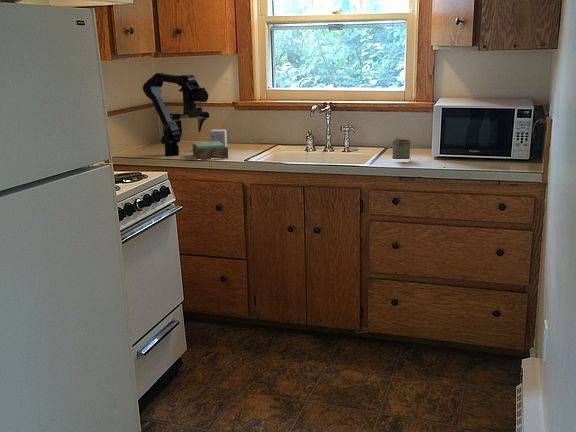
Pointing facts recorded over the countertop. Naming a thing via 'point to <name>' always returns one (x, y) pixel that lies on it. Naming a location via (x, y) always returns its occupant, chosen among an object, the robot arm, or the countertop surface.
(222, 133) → the small box
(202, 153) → the walnut box
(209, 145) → the cover plate
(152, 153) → the countertop surface
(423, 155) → the countertop surface
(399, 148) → the jerry can
